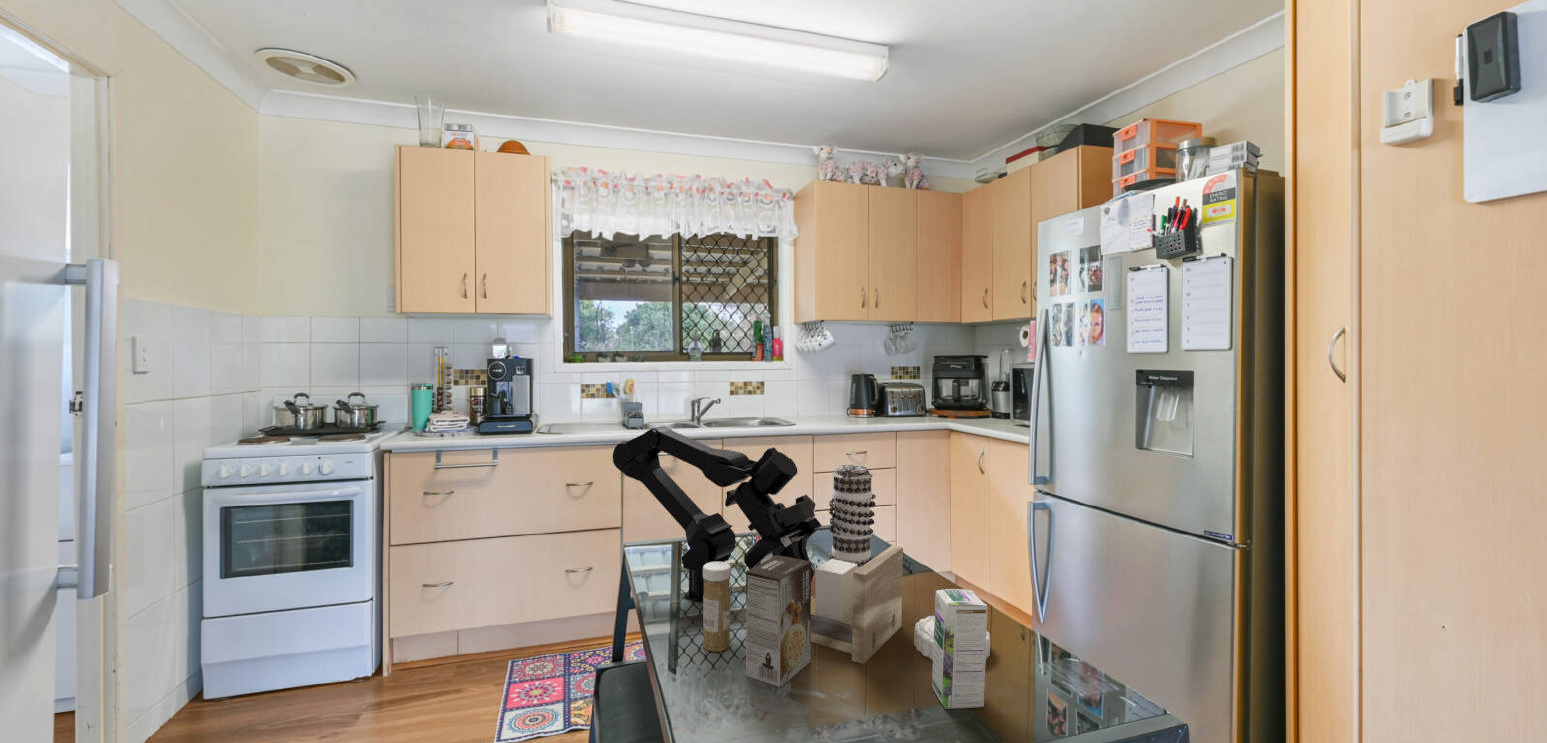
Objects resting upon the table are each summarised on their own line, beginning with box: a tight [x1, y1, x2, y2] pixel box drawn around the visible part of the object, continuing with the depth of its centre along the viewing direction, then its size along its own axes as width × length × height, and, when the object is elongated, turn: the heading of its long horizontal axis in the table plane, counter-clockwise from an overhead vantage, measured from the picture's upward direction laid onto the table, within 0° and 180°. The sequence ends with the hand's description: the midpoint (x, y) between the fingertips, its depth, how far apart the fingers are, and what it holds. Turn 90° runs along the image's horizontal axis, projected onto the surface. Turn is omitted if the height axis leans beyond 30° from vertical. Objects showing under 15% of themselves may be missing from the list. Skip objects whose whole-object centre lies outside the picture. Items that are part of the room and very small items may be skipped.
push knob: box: [811, 559, 858, 625], centre depth 112 cm, size 6×6×10 cm
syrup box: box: [931, 588, 989, 710], centre depth 91 cm, size 6×6×14 cm
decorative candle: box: [828, 464, 876, 569], centre depth 129 cm, size 9×9×25 cm
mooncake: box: [913, 615, 991, 661], centre depth 106 cm, size 12×12×4 cm
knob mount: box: [811, 545, 904, 665], centre depth 110 cm, size 12×16×14 cm
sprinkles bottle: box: [702, 561, 732, 653], centre depth 105 cm, size 5×5×14 cm
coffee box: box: [745, 555, 812, 688], centre depth 98 cm, size 9×6×16 cm
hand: (813, 581), depth 114 cm, fingers closed
